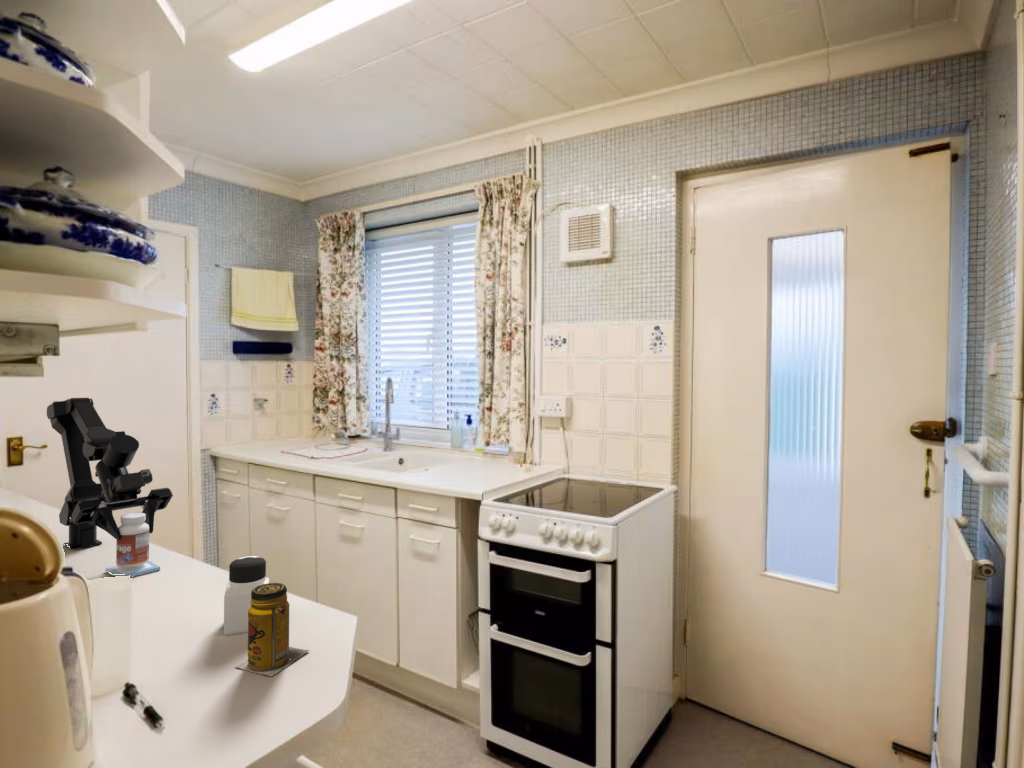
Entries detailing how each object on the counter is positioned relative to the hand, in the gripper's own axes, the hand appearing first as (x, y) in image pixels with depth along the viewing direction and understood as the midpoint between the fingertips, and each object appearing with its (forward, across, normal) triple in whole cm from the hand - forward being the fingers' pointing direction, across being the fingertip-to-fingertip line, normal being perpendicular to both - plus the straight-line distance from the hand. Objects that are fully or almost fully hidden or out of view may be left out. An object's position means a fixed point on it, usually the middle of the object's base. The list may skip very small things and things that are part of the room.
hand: (135, 535), depth 126 cm
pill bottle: (+4, 0, +6) cm, 7 cm away
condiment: (+47, -4, -36) cm, 60 cm away
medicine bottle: (+37, +1, -25) cm, 45 cm away
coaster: (+5, 0, +7) cm, 8 cm away
